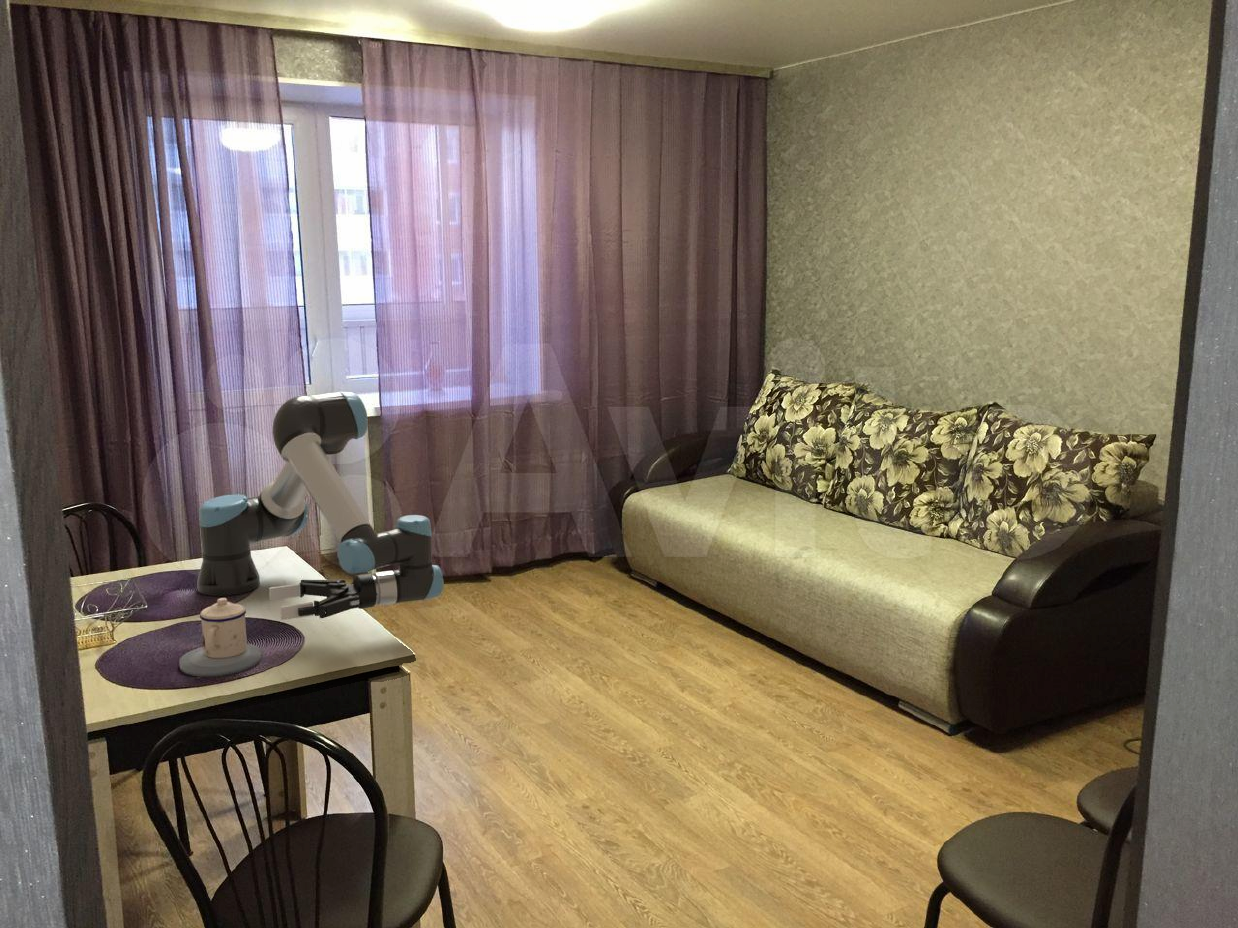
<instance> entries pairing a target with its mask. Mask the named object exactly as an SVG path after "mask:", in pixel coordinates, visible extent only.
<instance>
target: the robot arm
mask: <svg viewBox="0 0 1238 928" xmlns="http://www.w3.org/2000/svg"><path fill="white" fill-rule="evenodd" d="M368 419H369V418H368V413H367V410H366V406H365V404H364V402H363V401H362V399H361V398H360V396H359V395H358V394H356V393H355V392H352V391H340V390H339V391H336V392H328V393H319V394H312V395H310V394H309V395H299V396H294V397H291V398H290V399H288V400H286V401H285V402H284V403H283V404H282V405H281V406H280V407H279V409H278V410H277V411H276V413H275V417H274V419H273V422H272V436H273V437H272V438H273V443H274V445H275V447H276V448H275V449H277V452H278V453H279V455H280V457H281V458H282V460H283V461H285V464H284V465H283V467H282V469H280V472H279V473H278V476H277V477H276V479H275V481H272V482H270V483H268V484H266V485H265V486H264V487H263V489H262V491H261V492H260V494H259V495H258V496H254V497H248V496H247V495H244V494H238V493H232V494H223V495H220V496H217V497H213V498H211V499H208V500H207V501H205V502H203V504H202V505H201V506H200V508H199V520H198V522H199V530H200V531H199V532H200V542H201V543H200V544H201V552H202V553H201V554H202V555H201V556H202V563H201V567H200V570H199V573H198V577H197V580H196V581H197V582H196V586H197V592H198V593H199V594H202V595H205V596H215V597H223V596H224V597H225V596H234V595H235V596H236V595H240V594H244V593H245V594H246V593H248V592H251V591H253V590H256V589H257V588H259V587H260V585H261V578H260V574H259V571H258V569H257V566H256V564H255V562H254V560H253V557H252V551H251V544H254V543H258V542H263V541H267V540H273V539H277V538H281V537H290V536H291V535H294V534H298V533H299V532H300V531H302V530H303V529H304V528H305V526H306V524H307V521H308V515H307V514H309V509H308V504H307V501H306V499H305V498H306V497H307V495H308V494H310V496H311V498H312V499H313V500H314V503H315V504H316V506H317V507H318V509H319V511H320V512H321V514H322V515H323V517H324V518H325V519H324V520H326V522H327V524H328V525H329V526H330V529H331V530H332V532H333V533H334V535H335V537H336V538H337V539H338V541H339V542H340V544H339V545H338V548H337V555H336V556H337V559H338V560H339V562H338V563H339V566H340V567H341V569H342V570H343V571H344V572H345V573H347V574H350V575H355V576H354V577H353V578H352V582H351V583H346V579H344V578H342V579H341V578H340V579H301V580H300V582H299V583H296V584H295V583H294V584H288V585H279V586H271V587H269V588H268V594H269V601H275V600H276V601H277V600H284V599H290V598H298V597H299V598H303V597H305V596H315V597H326V598H323V599H322V600H320V601H319V600H313V601H310V602H303V603H302V602H301V603H296V604H295V603H294V604H290V605H283V606H282V605H281V606H280V620H281V621H282V620H291V619H298V618H305V617H313V616H314V617H319V619H326V618H328V617H331V616H334V615H337V614H341V613H344V612H346V611H350V610H354V609H360V610H361V609H368V608H374V607H375V606H379V607H381V606H384V607H386V608H388V607H389V606H390V605H393V604H400V603H408V602H417V601H425V600H430V599H434V598H438V597H440V596H441V595H442V594H443V591H444V584H445V583H444V581H445V580H444V577H443V571H442V569H441V567H440V566H439V565H436V564H433V559H432V539H433V538H432V537H433V533H432V525H431V521H430V518H428V517H426V516H425V515H419V514H409V515H404V516H401V517H399V518H398V519H397V522H396V528H395V529H391V530H390V529H389V530H387V531H382V532H376V531H375V529H374V528H373V527H372V525H371V524H370V522H369V520H368V518H366V516H365V514H364V512H363V511H362V509H361V507H360V506H359V505H358V503H357V501H356V499H355V498H354V497H353V495H352V493H351V492H350V491H349V489H348V487H347V485H346V484H345V481H343V479H342V477H341V476H340V474H339V473H338V471H337V470H336V468H335V466H334V465H333V464H332V462H331V460H330V459H331V458H332V456H335V455H337V454H341V452H343V451H344V449H346V446H347V445H348V443H349V441H351V440H353V439H354V440H358V439H360V438H362V437H364V436H365V435H366V433H367V430H368V425H369V422H368V421H369V420H368ZM396 564H398V569H393V570H392V569H391V570H384V571H383V570H382V571H376V572H373V574H371V573H368V572H371V571H373V570H376V569H377V570H378V569H380V568H384V567H387V566H392V565H396Z"/></svg>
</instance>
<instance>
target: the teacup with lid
mask: <svg viewBox="0 0 1238 928" xmlns="http://www.w3.org/2000/svg"><path fill="white" fill-rule="evenodd" d="M246 613H247V611H246V608H245V606H243V605H241V604H239V603H233V602H231V601H228V599H227V598H226V597H221V598H218V599H217V600H216V603H213V604H212V605H210V606H208V607H206V608H204V609H202V610H201V611H200V615H199V618H200V621H201V632H202V633H201V634H202V635H201V636H202V645H203V646H202V647H203V648H204V654H205V655H206V656H207V657H210V658H229V657H234V656H237V655H240V654H242V653H243V652H245V651H246V649H247V644H248V642H247V640H248V639H247V629H246V628H247V627H246V626H247V625H246V624H247V623H246Z"/></svg>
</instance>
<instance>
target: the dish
mask: <svg viewBox="0 0 1238 928" xmlns="http://www.w3.org/2000/svg"><path fill="white" fill-rule="evenodd" d="M261 659H262V651H261V649H260V647H258V646H257V645H254V644H251V643H247V649H246V651H245V652H243V653H242V654H240V655H237V656H234V657H229V658H210V657H207V656H206V655H205V654H204V648H203V646H200V647H197V648H195V649H192V650H190V651H188V652H186V653H184V654H183V655H182V656H181V657H180V658H179V660H178V662H179V664H178V665H179V670H180V671H181V672H182V673H183V674H186V675H189V676H193V677H194V676H195V677H207V678H208V677H209V678H210V677H220V676H221V677H222V676H223V677H224V676H228V675H234V674H237V673H241V672H243V671H247V670H248V669H251V668H253V667H254V666H256V665H257V664H259V663H260V661H261Z"/></svg>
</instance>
